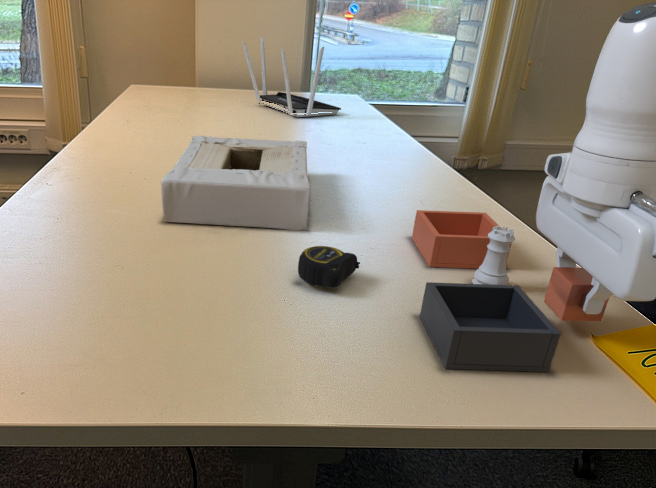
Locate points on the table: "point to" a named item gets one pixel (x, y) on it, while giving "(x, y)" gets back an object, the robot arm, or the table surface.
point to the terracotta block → (570, 294)
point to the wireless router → (286, 99)
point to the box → (239, 184)
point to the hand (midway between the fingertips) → (575, 298)
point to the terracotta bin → (453, 237)
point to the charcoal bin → (487, 327)
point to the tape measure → (326, 266)
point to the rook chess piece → (495, 258)
